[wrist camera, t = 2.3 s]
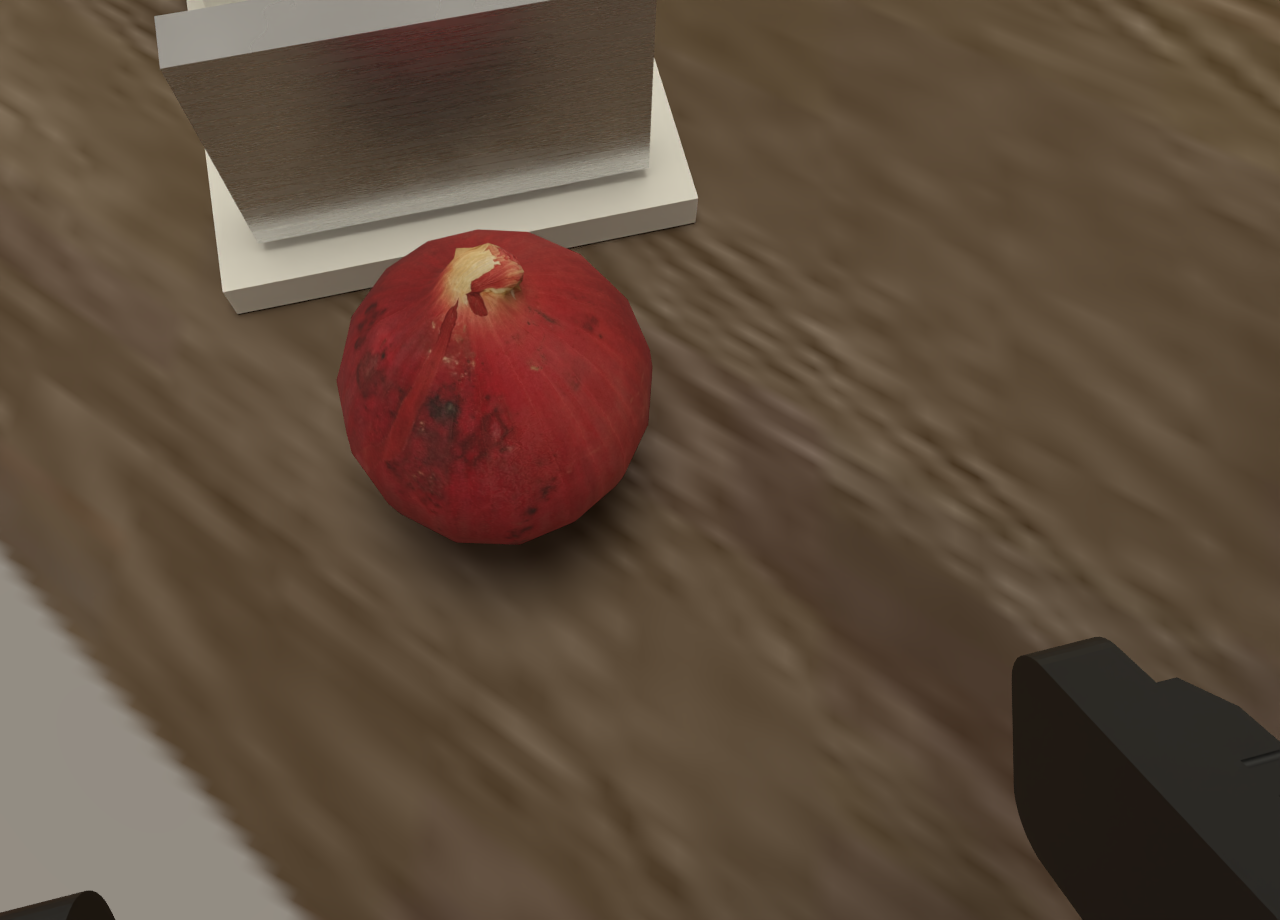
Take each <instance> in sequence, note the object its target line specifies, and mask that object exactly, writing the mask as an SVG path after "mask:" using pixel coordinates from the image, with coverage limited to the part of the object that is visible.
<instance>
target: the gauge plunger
mask: <svg viewBox="0 0 1280 920" xmlns="http://www.w3.org/2000/svg"><path fill="white" fill-rule="evenodd" d="M154 17H155V27H156V36H157V45H158V54H159V63H160V69H161V71H162V73H163V75H164V77H165V78H166V80H167V82H168V84H169V85H170V87H171V89H172V91H173V93H174V94H175V96H176V98H177V100H178V101H179V103H180V105H181V107H182V109H183V110H184V112H185V114H186V116H187V118H188V119H189V121H190V123H191V125H192V126H193V128H194V130H195V132H196V134H197V135H198V137H199V139H200V141H201V143H202V144H203V146H204V148H205V150H206V151H207V153H208V155H209V157H210V159H211V160H212V162H213V164H214V166H215V168H216V169H217V171H218V173H219V175H220V176H221V178H222V180H223V182H224V184H225V185H226V187H227V189H228V191H229V192H230V194H231V196H232V198H233V200H234V201H235V203H236V205H237V207H238V209H239V210H240V212H241V214H242V216H243V217H244V219H245V221H246V223H247V225H248V226H249V228H250V230H251V232H252V234H253V235H254V237H255V239H256V241H257V242H258V244H260V243H265V242H270V241H275V240H280V239H285V238H291V237H296V236H301V235H306V234H311V233H316V232H321V231H327V230H332V229H337V228H342V227H347V226H352V225H358V224H363V223H368V222H373V221H378V220H383V219H388V218H394V217H399V216H404V215H409V214H414V213H419V212H425V211H430V210H435V209H440V208H445V207H450V206H455V205H461V204H466V203H471V202H476V201H481V200H486V199H492V198H497V197H502V196H507V195H512V194H517V193H522V192H528V191H533V190H538V189H543V188H548V187H553V186H559V185H564V184H569V183H574V182H579V181H584V180H590V179H595V178H600V177H605V176H610V175H615V174H620V173H626V172H631V171H636V170H641V169H646V168H649V155H650V132H651V110H652V87H653V65H654V42H655V19H656V0H248V1H242V2H236V3H230V4H224V5H219V6H213V7H207V8H201V9H195V10H189V11H183V12H178V13H172V14H166V15H160V16H154Z"/></svg>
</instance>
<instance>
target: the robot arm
mask: <svg viewBox="0 0 1280 920" xmlns="http://www.w3.org/2000/svg"><path fill="white" fill-rule="evenodd" d="M1012 715H1013V765H1014V793H1015V800H1016V804H1017V809H1018V813H1019V816H1020V819H1021V822H1022V825H1023V828H1024V830H1025V833H1026V835H1027V838H1028V840H1029V842H1030V844H1031V846H1032V848H1033V850H1034V851H1035V853H1036V855H1037V857H1038V858H1039V860H1040V861H1041V863H1042V864H1043V865H1044V867H1045V868H1046V870H1047V871H1048V872H1049V874H1050V875H1051V877H1052V878H1053V879H1054V881H1055V882H1056V883H1057V885H1058V886H1059V888H1060V889H1061V890H1062V892H1063V893H1064V895H1065V896H1066V897H1067V899H1068V900H1069V901H1070V903H1071V904H1072V906H1073V907H1074V908H1075V910H1076V911H1077V913H1078V914H1079V915H1080V917H1081V918H1082V919H1083V920H1280V742H1279V741H1278V740H1277V739H1276V738H1275V737H1274V736H1273V735H1271V734H1270V733H1269V732H1268V731H1267V730H1266V729H1264V728H1263V727H1262V726H1261V725H1260V724H1259V723H1257V722H1256V721H1255V720H1254V719H1253V718H1252V717H1250V716H1249V715H1248V714H1247V713H1246V712H1245V711H1243V710H1242V709H1241V708H1240V707H1239V706H1237V705H1235V704H1232V703H1230V702H1228V701H1226V700H1224V699H1222V698H1220V697H1217V696H1215V695H1213V694H1211V693H1209V692H1207V691H1205V690H1203V689H1200V688H1198V687H1196V686H1194V685H1192V684H1190V683H1188V682H1185V681H1183V680H1181V679H1179V678H1173V679H1169V680H1165V681H1162V682H1158V683H1156V682H1155V681H1154V680H1153V679H1152V678H1151V677H1150V676H1148V675H1147V674H1146V673H1145V672H1144V671H1143V670H1142V669H1141V668H1140V667H1139V666H1138V665H1137V664H1135V663H1134V662H1133V661H1132V660H1131V659H1130V658H1129V657H1128V656H1127V655H1126V654H1125V653H1124V652H1123V651H1121V650H1120V649H1119V648H1118V647H1117V646H1116V645H1115V644H1113V643H1112V642H1111V641H1109V640H1107V639H1106V638H1102V637H1094V638H1090V639H1086V640H1082V641H1078V642H1074V643H1070V644H1066V645H1062V646H1058V647H1054V648H1050V649H1046V650H1042V651H1039V652H1035V653H1031V654H1027V655H1023V656H1020V657H1018V658H1017V660H1016V661H1015V663H1014V666H1013V670H1012ZM0 920H115V918H114V916H113V914H112V912H111V910H110V908H109V906H108V905H107V903H106V901H105V900H104V899H103V898H102V896H100V895H99V894H98V893H96V892H94V891H84V892H80V893H76V894H72V895H69V896H64V897H60V898H56V899H52V900H48V901H45V902H41V903H37V904H33V905H29V906H25V907H21V908H17V909H13V910H9V911H5V912H1V913H0Z"/></svg>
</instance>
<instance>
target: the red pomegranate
mask: <svg viewBox="0 0 1280 920" xmlns="http://www.w3.org/2000/svg"><path fill="white" fill-rule="evenodd" d="M651 381H652V362H651V355H650V350H649V347H648V345H647V343H646V340H645V338H644V336H643V334H642V331H641V329H640V327H639V324H638V322H637V320H636V318H635V315H634V313H633V311H632V309H631V306H630V304H629V302H628V300H627V299H626V298H625V297H624V296H623V295H622V294H621V293H620V292H619V291H618V290H617V289H616V288H615V287H614V286H613V285H612V284H611V283H610V282H609V281H608V280H607V279H606V278H605V277H604V276H602V275H601V274H600V273H599V272H598V271H597V270H596V269H595V268H594V267H593V266H592V265H591V264H590V263H589V262H588V261H587V260H586V259H585V258H583V257H582V256H581V255H580V254H578V253H576V252H574V251H572V250H569V249H567V248H565V247H562V246H560V245H558V244H555V243H553V242H551V241H549V240H546V239H544V238H542V237H539V236H537V235H535V234H532V233H530V232H522V231H502V230H481V229H477V230H473V231H469V232H464V233H460V234H456V235H452V236H447V237H443V238H439V239H435V240H431V241H427V242H426V243H424V244H423V245H421V246H420V247H418V248H417V249H415V250H414V251H412V252H411V253H409V254H408V255H406V256H405V257H403V258H402V259H400V260H399V261H397V262H395V263H394V264H392V265H391V266H389V267H388V268H386V270H385V271H384V272H383V274H382V275H381V276H380V278H379V279H378V280H377V282H376V283H375V285H374V286H373V287H372V289H371V290H370V292H369V293H368V294H367V296H366V297H365V299H364V300H363V301H362V303H361V304H360V306H359V307H358V308H357V310H356V311H355V313H354V314H353V315H352V317H351V322H350V326H349V331H348V335H347V340H346V344H345V349H344V353H343V358H342V362H341V365H340V369H339V373H338V377H337V386H338V391H339V396H340V401H341V406H342V411H343V416H344V422H345V427H346V432H347V436H348V440H349V444H350V447H351V451H352V454H353V455H354V457H355V458H356V459H357V461H358V462H359V464H360V465H361V466H362V468H363V469H364V470H365V472H366V473H367V475H368V476H369V477H370V479H371V480H372V482H373V483H374V484H375V486H376V487H377V489H378V490H379V491H380V493H381V494H382V496H383V497H384V498H385V500H386V501H387V502H388V504H389V505H391V506H392V507H393V508H394V509H396V510H397V511H398V512H399V513H400V514H402V515H404V516H406V517H408V518H410V519H412V520H414V521H415V522H417V523H419V524H421V525H423V526H425V527H427V528H429V529H431V530H433V531H435V532H437V533H439V534H441V535H443V536H445V537H447V538H449V539H450V540H452V541H454V542H458V543H486V544H515V545H520V544H522V543H525V542H527V541H530V540H532V539H534V538H537V537H539V536H542V535H544V534H546V533H549V532H551V531H554V530H556V529H558V528H561V527H563V526H566V525H568V524H570V523H573V522H575V521H576V520H577V519H578V518H579V517H581V516H582V515H583V514H584V513H585V512H586V511H588V510H589V509H590V508H591V507H592V506H593V505H594V504H596V503H597V502H598V501H599V500H600V499H601V498H603V497H604V496H605V495H606V494H607V493H608V492H609V491H611V490H612V489H613V488H614V487H615V486H616V485H617V484H618V483H619V481H620V480H621V479H622V477H623V476H624V474H625V472H626V470H627V468H628V466H629V464H630V461H631V459H632V457H633V455H634V453H635V451H636V449H637V447H638V445H639V442H640V440H641V438H642V436H643V434H644V432H645V430H646V428H647V426H648V420H649V407H650V394H651Z"/></svg>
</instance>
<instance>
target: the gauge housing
mask: <svg viewBox="0 0 1280 920" xmlns="http://www.w3.org/2000/svg"><path fill="white" fill-rule="evenodd" d="M242 1H248V0H187V8H188V11H189V10H195V9H201V8H207V7H213V6H219V5H224V4H230V3H236V2H242ZM205 153H206V161H207V169H208V177H209V185H210V193H211V201H212V209H213V217H214V225H215V233H216V241H217V249H218V257H219V265H220V274H221V282H222V290H223V293H224V295H225V296H226V298H227V299H228V301H229V302H230V304H231V305H232V307H233V308H234V310H235V311H236V313H237V314H241V313H246V312H251V311H256V310H261V309H266V308H271V307H276V306H281V305H286V304H291V303H296V302H301V301H306V300H311V299H316V298H321V297H326V296H331V295H336V294H341V293H346V292H351V291H356V290H361V289H366V288H371V287H373V286H374V285H375V283H376V282H377V280H378V279H379V278H380V276H381V275H382V274H383V272H384V271H385V270H386V268H388V267H389V266H391V265H392V264H394V263H395V262H397V261H399V260H400V259H402V258H403V257H405V256H406V255H408V254H409V253H411V252H412V251H414V250H415V249H417V248H418V247H420V246H421V245H423V244H424V243H426V242H427V241H431V240H435V239H439V238H443V237H447V236H452V235H456V234H460V233H464V232H469V231H473V230H477V229H481V230H502V231H522V232H530V233H532V234H535V235H537V236H539V237H542V238H544V239H546V240H549V241H551V242H553V243H555V244H558V245H560V246H562V247H565V248H570V247H575V246H580V245H585V244H590V243H595V242H600V241H605V240H610V239H615V238H620V237H625V236H630V235H635V234H640V233H645V232H650V231H655V230H660V229H665V228H670V227H675V226H680V225H685V224H690V223H695V221H696V213H697V204H698V196H697V193H696V190H695V186H694V183H693V180H692V177H691V174H690V170H689V167H688V164H687V161H686V158H685V154H684V151H683V148H682V145H681V142H680V139H679V135H678V132H677V129H676V126H675V123H674V119H673V116H672V113H671V110H670V107H669V104H668V100H667V97H666V94H665V91H664V88H663V84H662V81H661V78H660V75H659V72H658V68H657V65H656V62H655V59H654V65H653V87H652V110H651V132H650V155H649V168H646V169H641V170H636V171H631V172H626V173H620V174H615V175H610V176H605V177H600V178H595V179H590V180H584V181H579V182H574V183H569V184H564V185H559V186H553V187H548V188H543V189H538V190H533V191H528V192H522V193H517V194H512V195H507V196H502V197H497V198H492V199H486V200H481V201H476V202H471V203H466V204H461V205H455V206H450V207H445V208H440V209H435V210H430V211H425V212H419V213H414V214H409V215H404V216H399V217H394V218H388V219H383V220H378V221H373V222H368V223H363V224H358V225H352V226H347V227H342V228H337V229H332V230H327V231H321V232H316V233H311V234H306V235H301V236H296V237H291V238H285V239H280V240H275V241H270V242H265V243H260V244H258V242H257V241H256V239H255V237H254V235H253V234H252V232H251V230H250V228H249V226H248V225H247V223H246V221H245V219H244V217H243V216H242V214H241V212H240V210H239V209H238V207H237V205H236V203H235V201H234V200H233V198H232V196H231V194H230V192H229V191H228V189H227V187H226V185H225V184H224V182H223V180H222V178H221V176H220V175H219V173H218V171H217V169H216V168H215V166H214V164H213V162H212V160H211V159H210V157H209V155H208V153H207V151H206V150H205Z"/></svg>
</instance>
